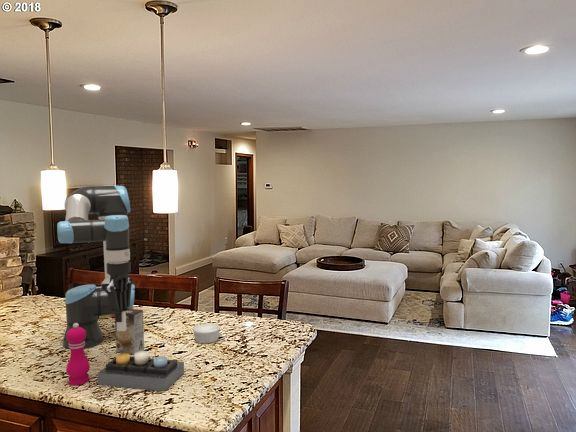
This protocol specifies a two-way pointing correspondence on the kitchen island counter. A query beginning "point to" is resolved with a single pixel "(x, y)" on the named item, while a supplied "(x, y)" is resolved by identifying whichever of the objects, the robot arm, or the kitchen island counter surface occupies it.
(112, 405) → the kitchen island counter surface
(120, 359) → the amber button
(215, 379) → the kitchen island counter surface
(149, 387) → the button console
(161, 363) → the blue button
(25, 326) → the kitchen island counter surface
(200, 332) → the ramekin
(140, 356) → the cream rounded cylinder
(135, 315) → the coffee box
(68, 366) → the pepper mill
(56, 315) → the kitchen island counter surface
